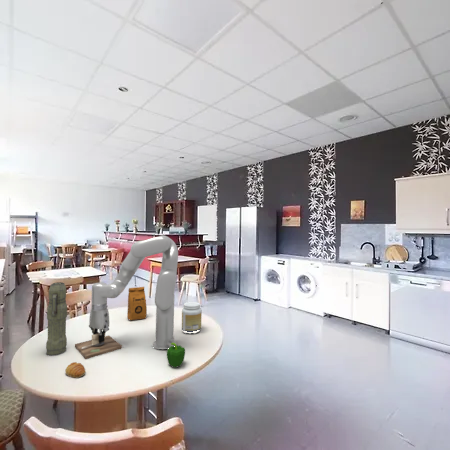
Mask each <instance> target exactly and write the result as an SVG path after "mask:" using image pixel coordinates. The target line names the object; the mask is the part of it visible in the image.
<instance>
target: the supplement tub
mask: <svg viewBox="0 0 450 450" xmlns="http://www.w3.org/2000/svg"><path fill="white" fill-rule="evenodd" d="M182 307H183V308H182V311H181V331H182V330H183V331H187V332H193V331H197V330H200V329H201V330H202V307H201V303H200V302H198V301H187V302H184V303H183V306H182Z"/></svg>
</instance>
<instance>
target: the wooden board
mask: <svg viewBox="0 0 450 450" xmlns="http://www.w3.org/2000/svg"><path fill="white" fill-rule="evenodd" d="M88 345H92V339H91V340H89V339H88V340H86V341H82V342H79V343H74V348H75V349H76V350H77V352H79V354H80V355H81V356H82V357H83V358H84V359H85V360H88V359H91V358H95V357H98V356H102V355H105V354H108V353H111V352H116V351H119V350H121V349H123V345H122V344H120V343H119V342H118V341H117V340H116V339H114V337H112V336H110V335H105V342H104V345H102V346H99V347H94V346H90V347H87V348H84V349H82V347H85V346H88Z"/></svg>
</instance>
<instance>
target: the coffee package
mask: <svg viewBox="0 0 450 450" xmlns="http://www.w3.org/2000/svg"><path fill="white" fill-rule="evenodd" d="M147 311H148V310H147V299H146V293H145V286H139V287H138V286H137V287H129V288H128V295H127V311H126V312H127V319H128V320H129V321H135V320H136V321H137V320H144V319H146V318H147V315H148V314H147Z"/></svg>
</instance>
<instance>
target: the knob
mask: <svg viewBox="0 0 450 450" xmlns="http://www.w3.org/2000/svg"><path fill="white" fill-rule="evenodd" d="M99 335H100V332H99V333H97V334H94V335H93V334H92V335H91V340H92V345H88V346H85V347H82V349H84V348H87V347H90V346H94V347H99V346H102V345H104V342H105V336H106V333H105V334H104V341H103V342H101V343H99Z"/></svg>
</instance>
